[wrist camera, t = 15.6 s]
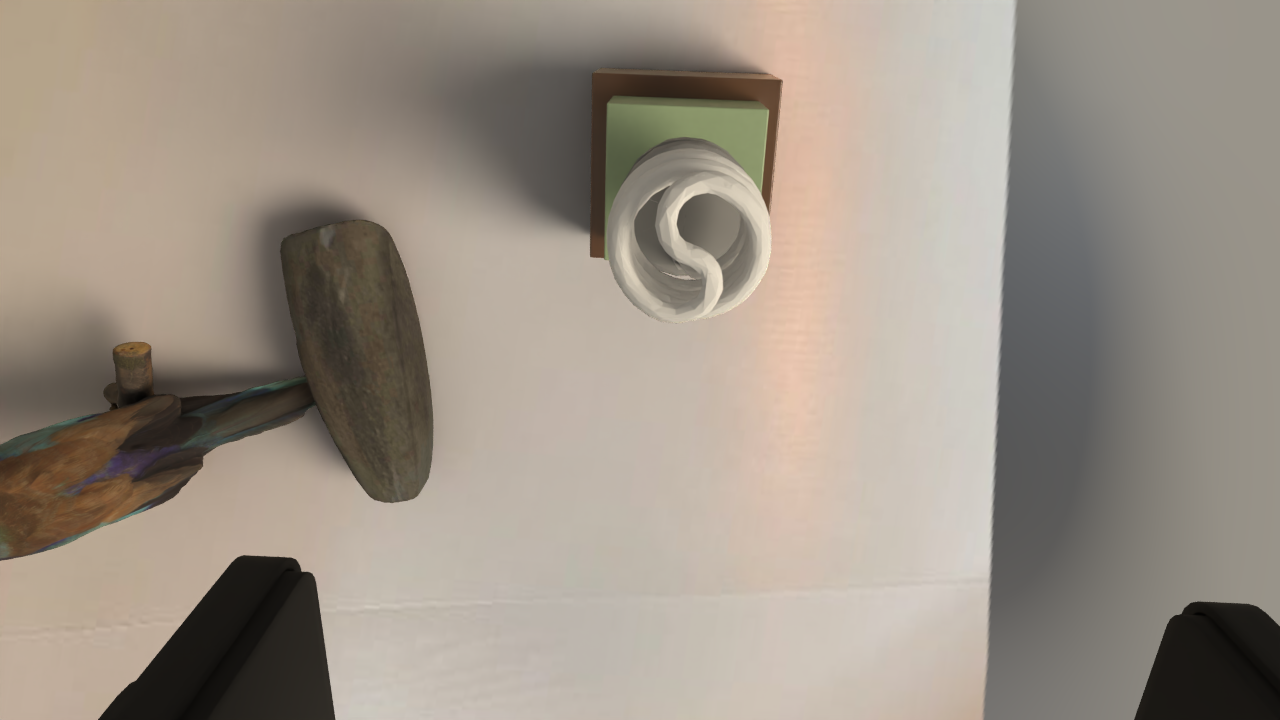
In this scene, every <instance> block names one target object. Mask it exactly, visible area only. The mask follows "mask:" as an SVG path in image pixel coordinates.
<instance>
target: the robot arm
mask: <svg viewBox="0 0 1280 720" xmlns="http://www.w3.org/2000/svg"><path fill="white" fill-rule="evenodd" d="M98 720H335V714H334V707H333V700H332V693H331V686H330V679H329V671H328V664H327V657H326V650H325V643H324V636H323V629H322V622H321V615H320V608H319V600H318V593H317V586H316V581H315V577H314V576H313V574H312V573H310V572H301V568H300V565H299V563H298V562H297V560H296V559H293V558H287V557H267V556H246V555H243V556H240V557H237V558H236V559H235V560H234V561H233V562H232V563H231V564H230V565H229V567H228V568H227V569H226V570H225V572H224V573H223V574H222V575H221V576H220V578H219V579H218V580H217V581H216V583H215V584H214V585H213V586H212V588H211V589H210V590H209V591H208V593H207V594H206V595H205V596H204V597H203V599H202V600H201V601H200V602H199V604H198V605H197V606H196V607H195V609H194V610H193V611H192V612H191V614H190V615H189V616H188V617H187V618H186V620H185V621H184V622H183V623H182V625H181V626H180V627H179V628H178V630H177V631H176V632H175V633H174V635H173V636H172V637H171V638H170V639H169V641H168V642H167V643H166V644H165V646H164V647H163V648H162V649H161V651H160V652H159V653H158V654H157V655H156V657H155V658H154V659H153V660H152V662H151V663H150V664H149V665H148V667H147V668H146V669H145V670H144V672H143V673H142V674H141V675H140V676H139V678H138V679H137V680H136V681H134V682H132V683H130V684H129V685H128V686H127V687H126V688H125V689H124V690H123V691H122V692H121V693H120V694H119V695H118V696H117V697H116V698H115V700H114V701H113V702H112V703H111V704H110V706H109V707H108V708H107V709H106V711H105V712H104V713H103V714H102V715H101V717H100V718H99V719H98ZM1134 720H1280V626H1279V625H1278V624H1277V623H1276V622H1275V621H1274V620H1273V619H1272V618H1271V617H1269V615H1268V614H1266V613H1265V612H1264V611H1262V610H1261V609H1260V608H1259V607H1257V606H1253V605H1250V604H1238V603H1217V602H1193V603H1190V604H1189V605H1188V606H1187V607H1185V608H1184V610H1183V612H1182V614H1180V615H1175V616H1174V617H1172V618H1171V619H1170V621H1169V623H1168V624H1167V627H1166V630H1165V633H1164V635H1163V638H1162V641H1161V644H1160V647H1159V650H1158V653H1157V655H1156V658H1155V661H1154V664H1153V667H1152V670H1151V673H1150V676H1149V679H1148V681H1147V685H1146V687H1145V690H1144V693H1143V696H1142V699H1141V702H1140V705H1139V708H1138V710H1137V713H1136V716H1135V719H1134Z"/></svg>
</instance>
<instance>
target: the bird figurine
mask: <svg viewBox="0 0 1280 720" xmlns="http://www.w3.org/2000/svg"><path fill="white" fill-rule="evenodd" d="M113 360H114V363H115V371H116V383H112V384H109V385H108V386H107V387H106V388H105V389H104V391H103V394H104V397H105V398H106V399H107V400H108V401H109V402H110V403H111V405H112V406H111V407H110V409H109V410H110V411H109V412H105V413H101V414H92V415H87V416H82V417H78V418H74V419H70V420H67V421H63V422H60V423H58V424H55V425H51V426H49V427H46V428H43V429H40V430H38V431H35V432H31V433H28V434H24V435H20V436H18V437H15V438H13V439H11V440H9V441H7V442H5V443H3V444H1V445H0V561H1V560H8V559H13V558H17V557H23V556H28V555H32V554H36V553H40V552H44V551H47V550H51V549H54V548H57V547H60V546H63V545H65V544H68V543H70V542H72V541H74V540H76V539H78V538H80V537H82V536H84V535H86V534H88V533H90V532H92V531H94V530H96V529H98V528H100V527H103V526H106V525H109V524H112V523H115V522H118V521H120V520H123V519H125V518H127V517H130V516H132V515H135V514H138V513H141V512H143V511H146V510H148V509H151V508H153V507H155V506H157V505H160V504H162V503H164V502H166V501H168V500H169V499H171V498H173V497H174V496H176V495H177V494H178V493H179V491H180V489H181V488H182V487H183V486H185V485H186V484H187V483H188V481H189V480H190V479H191V477H193V476H194V475H195V474H196V473H197V472H198V470H200V469H201V468H202V467H203V456H204V455H206V454H207V453H208V452H210V451H211V450H213V449H214V448H216V447H217V446H220V445H222V444H225V443H228V442H233V441H237V440H240V439H242V438H244V437H247V436H252V435H257V434H260V433H262V432H264V431H267V430H271V429H274V428H277V427H280V426H284V425H287V424H289V423H291V422H294V421H296V420H298V419H299V418H301V417H303V416H304V414H305V412H306V411H307V410H308V409H309V408H312V407H314V406H315V405H316V403H315V401H314V398H313V396H312V393H311V391H310V388H309V385H308V383H307V379H306V376H304V377H296V378H293V379H290V380H283V381H277V382H274V383H271V384H268V385H264V386H259V387H253V388H250V389H248V390H245V391H243V392H237V393H232V394H226V395H215V396H193V397H185V398H178V397H176V396H175V395H172V394H168V395H166V394H161V395H154V391H153V376H152V362H151V346H150V345H149V344H147V343H144V342H128V343H124V344H121V345H118V346H117V347H115V348H114V349H113ZM117 404H118V406H119V408H118V407H117Z"/></svg>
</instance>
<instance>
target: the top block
mask: <svg viewBox="0 0 1280 720" xmlns="http://www.w3.org/2000/svg"><path fill="white" fill-rule="evenodd" d="M768 116H769V110H768V109H767V108H766V107H765V106H764V105H763V104H761V103H760V102H759V101H740V100H714V99H688V98H662V97H636V96H613V97H612V98H611V99H610V101H609V102H608V103H607V126H606V181H605V236H604V259H605V260H609V256H608V249H607V236H606V233H607V225H608V217H609V214H610V211H611V208H612V205H613V202H614V199H615V197H616V195H617V193H618V191H619V190H620V188H621V184H622V183H623V181H624V180H625V178H626V176H627V175H628V173H629V172H630V170H631V168H632V167H633V165H634V163H635V162H636V160H637V159H638V158H639V157H640V156H641V155H643V154H644V153H645V152H646V151H648V150H649V149H650V148H652V147H654V146H656V145H658V144H660V143H662V142H663V141H665V140H667V139H672V138H680V137H690V138H701V139H704V140H707V141H710V142H712V143H714V144H716V145H718V146H720V147H721V148H723V149H725V150H726V151H728V152H729V154H730V155H731V156H732V157H733V158H734V159H735V160H736V161H737V162H738V163H739V164H740V165H741V166H742V167H743V168H744V170H745V172H746V173H747V175H748V176H749V177H750V178H751V179H752V180H753V182H754V183H755V185H756V186H757V188H758V190H759V191H760V193H761V194H762V182H763V171H764V160H765V149H766V138H767V127H768Z"/></svg>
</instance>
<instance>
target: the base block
mask: <svg viewBox="0 0 1280 720" xmlns="http://www.w3.org/2000/svg"><path fill="white" fill-rule="evenodd" d="M782 83H783V81H782V80H781V79H779V78H777V77H775V76H773V75H771V74H748V73H722V72H696V71H669V70H643V69H617V68H600V69H598V70H597V71H595V72H593V73H592V131H591V218H590V257H594V258H604V236H605V181H606V126H607V103H608V102H609V101H610V99H611V98H612V97H613V96H636V97H662V98H688V99H714V100H740V101H759V102H760V103H761V104H763V105H764V106H765V107H766V108H767V109H768V110H769V116H768V127H767V138H766V149H765V160H764V171H763V182H762V194H761V195H762V198H763V200H764V202H765V205H766V208H767V211H768V213H769V218H770V209H771V198H772V188H773V177H774V167H775V156H776V146H777V135H778V125H779V114H780V104H781V93H782Z"/></svg>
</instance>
